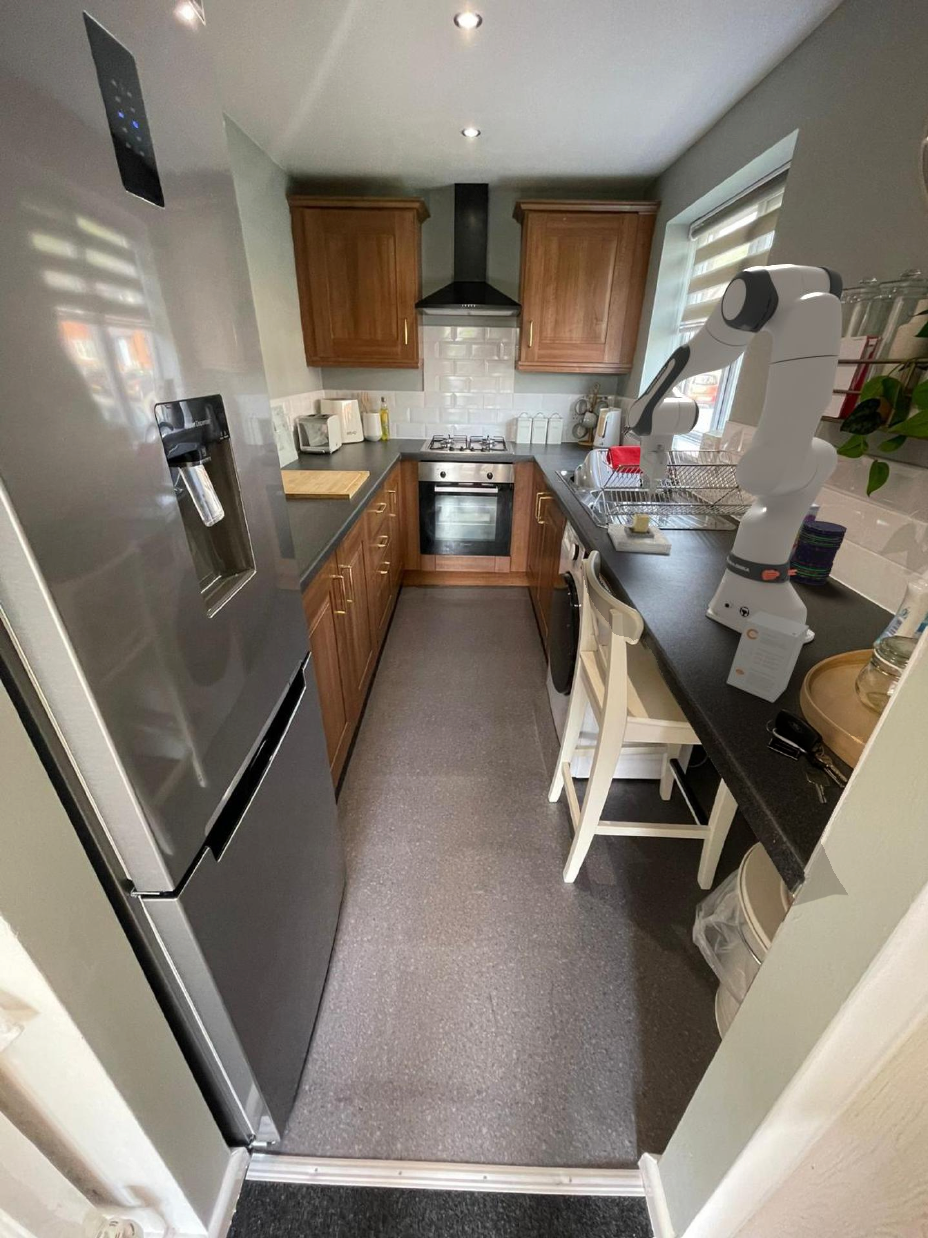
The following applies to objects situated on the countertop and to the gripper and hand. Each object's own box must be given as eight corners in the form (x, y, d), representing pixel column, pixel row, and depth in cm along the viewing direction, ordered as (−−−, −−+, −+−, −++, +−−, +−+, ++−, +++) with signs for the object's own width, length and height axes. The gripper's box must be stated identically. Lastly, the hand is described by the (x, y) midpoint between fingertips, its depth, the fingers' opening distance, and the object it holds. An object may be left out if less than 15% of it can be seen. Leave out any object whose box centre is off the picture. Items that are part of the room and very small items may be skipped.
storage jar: (802, 569, 143) (820, 519, 136) (835, 582, 135) (856, 529, 128) (777, 573, 140) (794, 521, 133) (809, 586, 132) (829, 532, 125)
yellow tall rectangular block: (644, 544, 160) (650, 517, 156) (631, 544, 160) (637, 516, 156) (642, 541, 163) (647, 514, 159) (629, 540, 164) (634, 513, 159)
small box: (785, 690, 88) (811, 625, 82) (773, 704, 84) (798, 637, 78) (739, 670, 94) (759, 609, 88) (725, 683, 90) (745, 619, 84)
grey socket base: (669, 554, 152) (672, 541, 150) (616, 550, 154) (618, 538, 152) (655, 534, 170) (657, 523, 168) (607, 531, 171) (609, 520, 170)
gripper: (676, 448, 138) (666, 497, 144) (659, 439, 156) (652, 484, 162) (653, 447, 139) (644, 496, 145) (639, 439, 157) (632, 483, 163)
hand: (648, 490), depth 154 cm, fingers open, 8 cm apart
